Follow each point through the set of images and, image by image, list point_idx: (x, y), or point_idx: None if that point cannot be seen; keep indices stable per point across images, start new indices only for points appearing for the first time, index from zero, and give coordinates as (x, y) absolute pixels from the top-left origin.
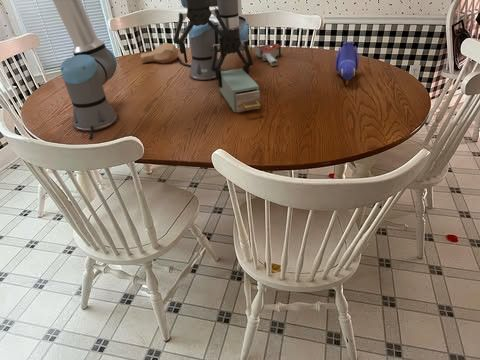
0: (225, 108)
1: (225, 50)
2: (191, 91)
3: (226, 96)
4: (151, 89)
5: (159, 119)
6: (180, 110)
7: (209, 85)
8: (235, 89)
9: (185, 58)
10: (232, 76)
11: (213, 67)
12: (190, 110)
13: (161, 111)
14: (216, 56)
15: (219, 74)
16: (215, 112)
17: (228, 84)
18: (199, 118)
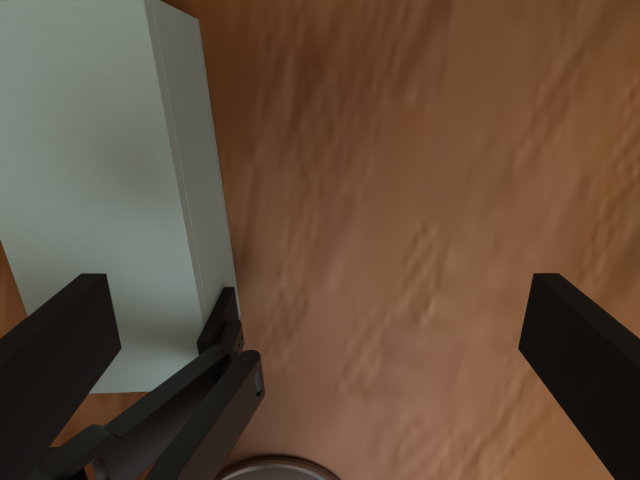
0: (243, 95)
1: (62, 469)
2: (382, 367)
3: (215, 194)
4: (557, 447)
5: (631, 82)
6: (490, 160)
7: (283, 403)
8: (118, 6)
9: (583, 301)
10: (126, 281)
11: (240, 367)
12: (438, 140)
13: (588, 185)
14: (182, 434)
15: (213, 332)
16: (308, 59)
17: (167, 140)
18: (414, 7)
